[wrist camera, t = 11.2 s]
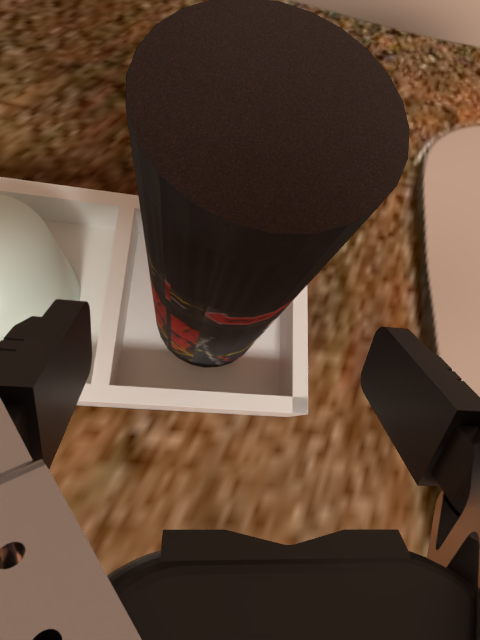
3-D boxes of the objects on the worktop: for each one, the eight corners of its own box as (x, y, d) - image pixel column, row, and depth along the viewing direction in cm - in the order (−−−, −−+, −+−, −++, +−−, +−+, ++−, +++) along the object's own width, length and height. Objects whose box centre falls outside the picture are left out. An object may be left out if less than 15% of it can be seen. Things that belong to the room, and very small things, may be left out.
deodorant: (178, 255, 23) (189, -41, 9) (271, 289, 23) (428, 62, 9) (139, 346, 21) (69, 161, 7) (241, 382, 21) (381, 280, 7)
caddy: (-97, 395, 19) (-210, 380, 13) (-40, 205, 22) (-112, 128, 17) (287, 417, 22) (327, 411, 16) (289, 246, 25) (322, 192, 20)
